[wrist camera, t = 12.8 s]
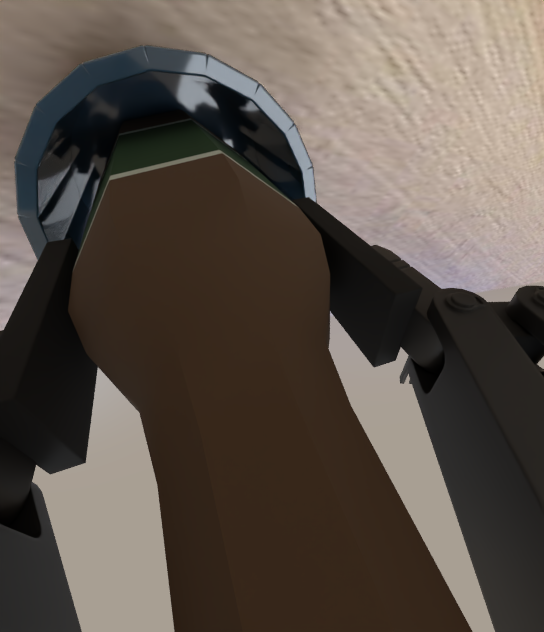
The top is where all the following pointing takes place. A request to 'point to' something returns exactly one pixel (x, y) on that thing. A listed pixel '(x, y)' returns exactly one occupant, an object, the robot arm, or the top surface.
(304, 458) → the beer bottle
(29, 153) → the metal cup
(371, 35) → the top surface
